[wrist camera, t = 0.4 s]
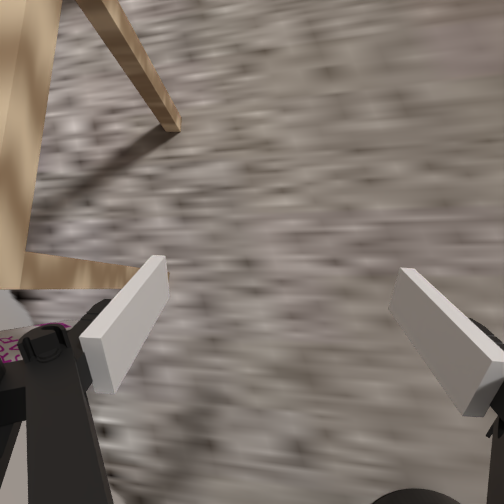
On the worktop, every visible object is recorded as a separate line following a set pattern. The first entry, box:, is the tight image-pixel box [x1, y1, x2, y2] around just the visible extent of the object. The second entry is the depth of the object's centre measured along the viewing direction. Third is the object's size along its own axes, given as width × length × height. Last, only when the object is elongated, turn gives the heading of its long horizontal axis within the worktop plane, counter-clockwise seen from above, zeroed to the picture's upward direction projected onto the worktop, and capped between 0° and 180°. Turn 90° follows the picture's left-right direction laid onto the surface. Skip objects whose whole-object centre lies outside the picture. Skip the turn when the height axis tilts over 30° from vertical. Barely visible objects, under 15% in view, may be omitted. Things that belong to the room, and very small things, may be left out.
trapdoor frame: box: [0, 0, 182, 290], centre depth 25 cm, size 23×23×22 cm
